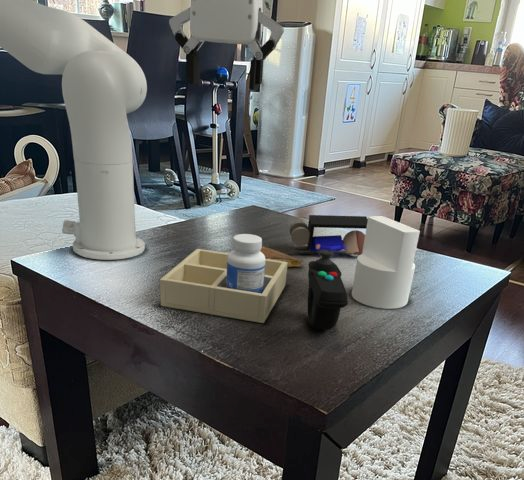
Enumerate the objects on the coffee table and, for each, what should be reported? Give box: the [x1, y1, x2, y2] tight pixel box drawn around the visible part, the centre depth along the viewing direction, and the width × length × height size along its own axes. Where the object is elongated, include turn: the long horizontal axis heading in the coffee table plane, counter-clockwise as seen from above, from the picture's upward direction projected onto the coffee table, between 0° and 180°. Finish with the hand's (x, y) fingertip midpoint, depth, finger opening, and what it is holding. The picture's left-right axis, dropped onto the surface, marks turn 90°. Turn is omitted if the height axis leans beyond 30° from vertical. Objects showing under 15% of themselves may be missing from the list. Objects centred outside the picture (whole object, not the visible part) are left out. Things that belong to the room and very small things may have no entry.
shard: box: [260, 245, 304, 268], centre depth 96 cm, size 11×8×2 cm
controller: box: [307, 250, 349, 331], centre depth 72 cm, size 4×12×10 cm, turn 2°
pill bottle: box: [226, 233, 265, 294], centre depth 76 cm, size 6×5×10 cm
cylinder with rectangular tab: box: [351, 215, 421, 310], centre depth 83 cm, size 9×9×12 cm
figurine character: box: [289, 214, 368, 257], centre depth 103 cm, size 7×8×15 cm
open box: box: [159, 248, 288, 324], centre depth 81 cm, size 15×15×4 cm
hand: (223, 86), depth 82 cm, fingers open, 9 cm apart
